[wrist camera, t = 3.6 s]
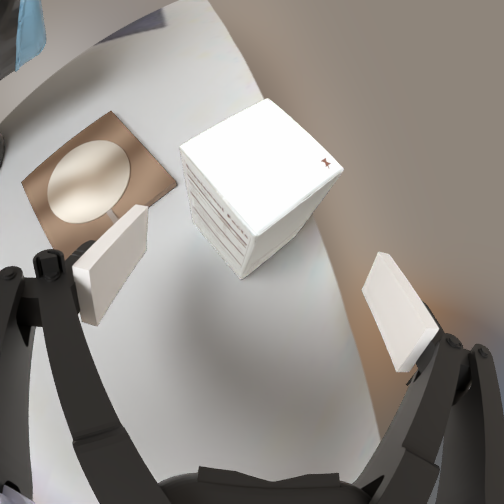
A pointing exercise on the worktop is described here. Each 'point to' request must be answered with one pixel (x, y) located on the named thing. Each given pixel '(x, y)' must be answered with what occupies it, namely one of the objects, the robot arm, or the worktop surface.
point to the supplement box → (255, 183)
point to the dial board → (94, 183)
